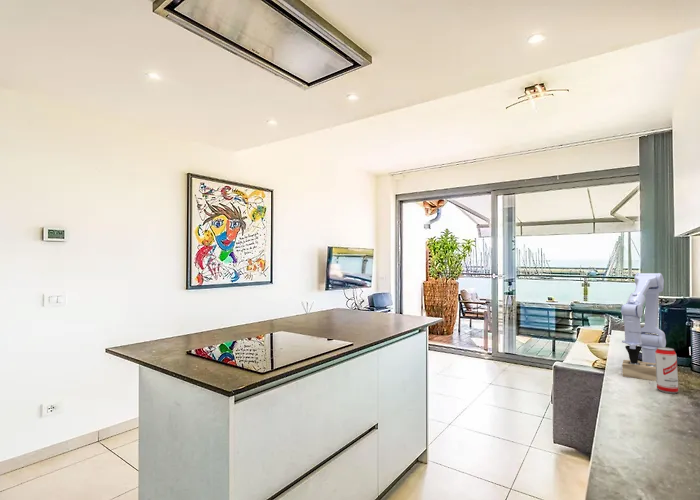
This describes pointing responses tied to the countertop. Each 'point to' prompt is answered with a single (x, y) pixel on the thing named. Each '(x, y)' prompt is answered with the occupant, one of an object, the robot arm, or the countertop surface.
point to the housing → (639, 370)
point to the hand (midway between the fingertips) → (634, 363)
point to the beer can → (666, 370)
